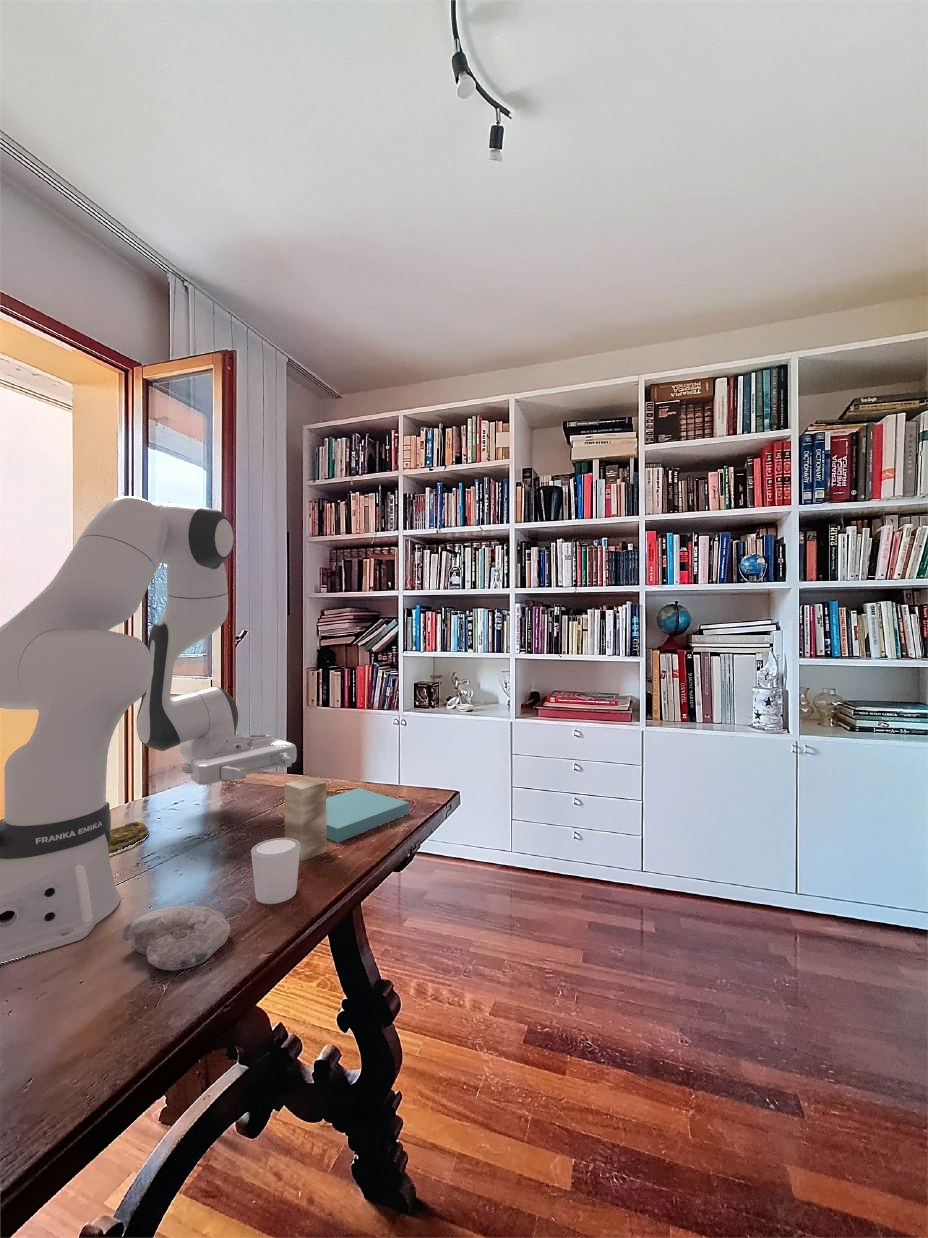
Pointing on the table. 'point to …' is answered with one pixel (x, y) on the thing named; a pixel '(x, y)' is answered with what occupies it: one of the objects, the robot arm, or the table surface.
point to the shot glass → (275, 869)
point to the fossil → (178, 935)
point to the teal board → (360, 812)
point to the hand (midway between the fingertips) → (266, 768)
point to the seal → (126, 836)
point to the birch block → (306, 815)
